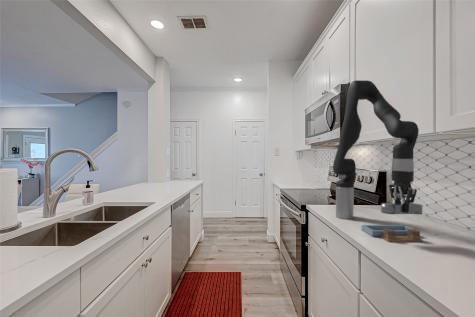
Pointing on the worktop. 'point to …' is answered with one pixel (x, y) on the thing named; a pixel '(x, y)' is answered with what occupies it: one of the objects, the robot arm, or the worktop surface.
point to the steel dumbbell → (400, 208)
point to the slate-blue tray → (378, 229)
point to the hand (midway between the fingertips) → (401, 210)
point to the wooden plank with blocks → (411, 236)
